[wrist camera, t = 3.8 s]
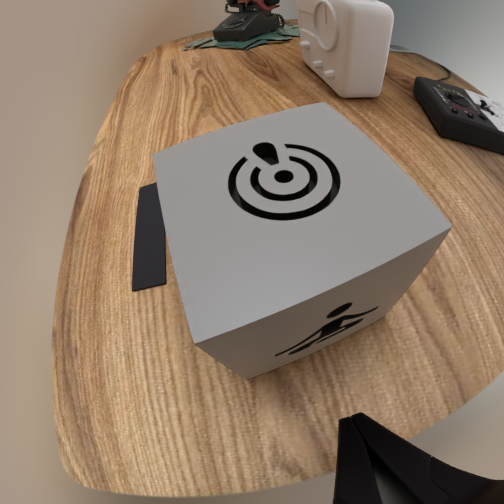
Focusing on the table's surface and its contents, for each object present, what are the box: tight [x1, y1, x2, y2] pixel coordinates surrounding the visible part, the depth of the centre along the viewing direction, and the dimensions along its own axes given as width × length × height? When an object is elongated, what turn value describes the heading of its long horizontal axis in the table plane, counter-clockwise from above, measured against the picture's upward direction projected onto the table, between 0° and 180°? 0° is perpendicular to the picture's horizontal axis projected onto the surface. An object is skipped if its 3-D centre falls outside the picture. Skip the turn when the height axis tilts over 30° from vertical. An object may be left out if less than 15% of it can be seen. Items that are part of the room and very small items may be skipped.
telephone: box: [183, 0, 300, 51], centre depth 52 cm, size 35×32×20 cm
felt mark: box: [132, 182, 166, 291], centre depth 24 cm, size 12×3×1 cm, turn 11°
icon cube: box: [152, 102, 452, 380], centre depth 15 cm, size 10×10×10 cm
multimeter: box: [413, 77, 504, 155], centre depth 26 cm, size 13×19×5 cm
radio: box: [295, 0, 394, 98], centre depth 26 cm, size 22×8×25 cm, turn 9°
